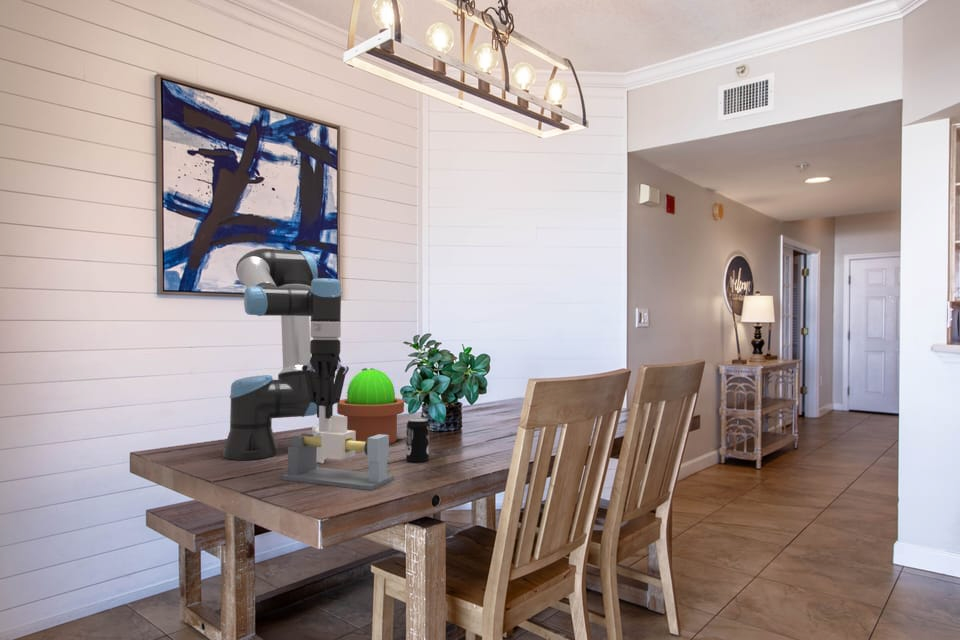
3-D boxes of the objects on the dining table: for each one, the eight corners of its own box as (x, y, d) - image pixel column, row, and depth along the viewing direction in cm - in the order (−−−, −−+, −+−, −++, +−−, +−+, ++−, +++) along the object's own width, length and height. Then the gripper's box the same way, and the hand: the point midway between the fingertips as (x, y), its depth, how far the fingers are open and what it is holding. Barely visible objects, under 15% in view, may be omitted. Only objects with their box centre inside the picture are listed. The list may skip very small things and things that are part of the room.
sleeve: (321, 457, 153) (321, 417, 153) (335, 452, 159) (335, 413, 159) (341, 459, 151) (342, 418, 151) (355, 454, 157) (355, 415, 157)
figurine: (339, 462, 173) (339, 420, 174) (324, 465, 169) (324, 422, 169) (316, 457, 180) (317, 416, 180) (302, 460, 176) (302, 418, 176)
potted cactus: (399, 448, 193) (400, 369, 193) (330, 448, 193) (331, 369, 193) (406, 435, 215) (407, 365, 215) (344, 435, 215) (345, 364, 215)
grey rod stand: (282, 479, 154) (282, 432, 154) (308, 469, 164) (309, 426, 165) (371, 490, 145) (372, 441, 145) (393, 479, 155) (394, 433, 155)
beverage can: (425, 463, 173) (425, 421, 173) (403, 462, 174) (403, 420, 174) (431, 458, 179) (432, 418, 179) (410, 457, 181) (410, 417, 181)
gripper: (295, 338, 155) (294, 431, 155) (338, 339, 150) (337, 435, 150) (313, 338, 162) (312, 426, 162) (355, 339, 157) (354, 430, 157)
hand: (324, 430), depth 156 cm, fingers closed
